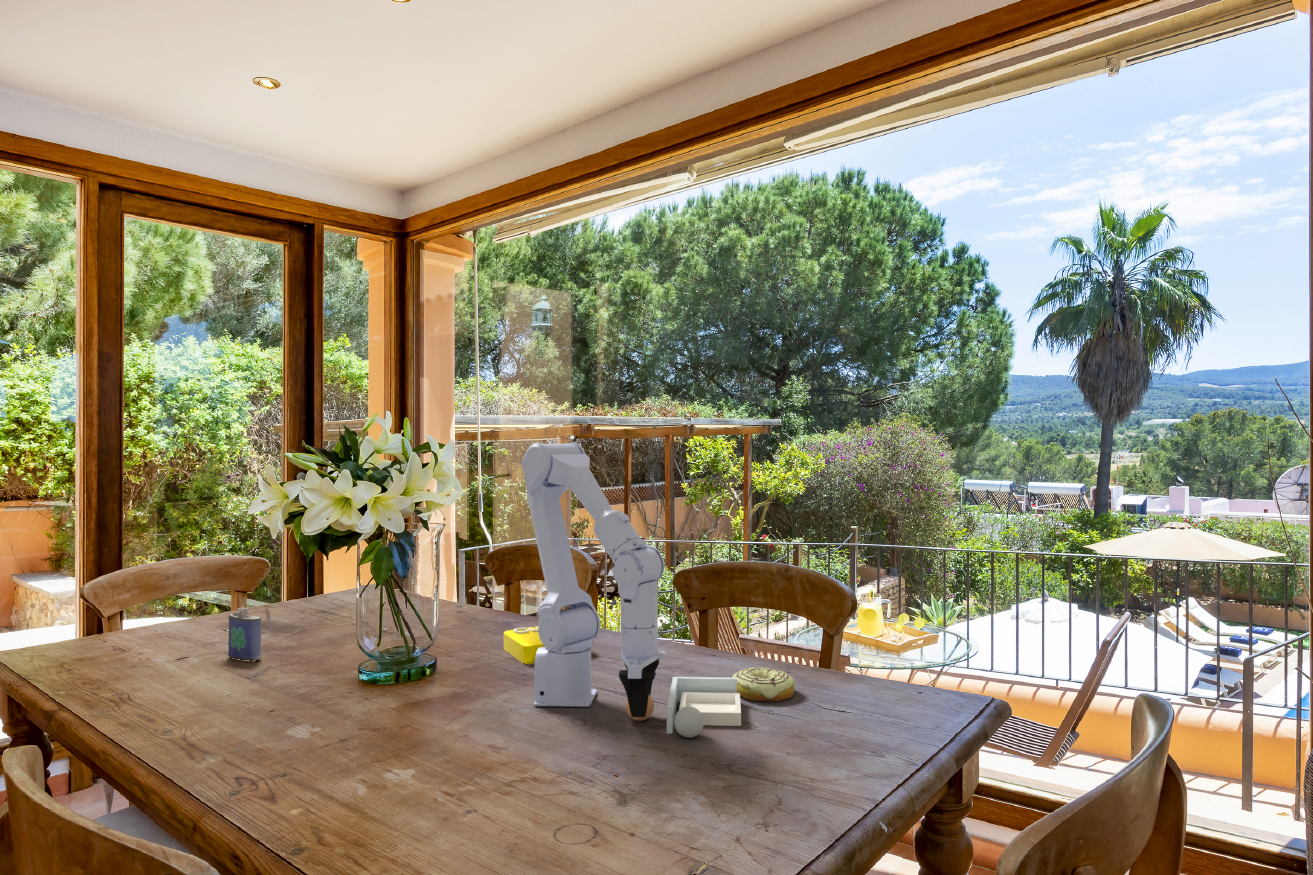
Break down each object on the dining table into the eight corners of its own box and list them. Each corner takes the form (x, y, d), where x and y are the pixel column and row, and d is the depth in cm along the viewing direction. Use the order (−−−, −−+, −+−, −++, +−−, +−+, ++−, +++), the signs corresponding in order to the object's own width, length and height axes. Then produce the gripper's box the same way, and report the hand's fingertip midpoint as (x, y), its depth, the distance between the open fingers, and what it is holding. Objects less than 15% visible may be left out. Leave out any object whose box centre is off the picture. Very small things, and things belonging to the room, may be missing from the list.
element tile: (525, 667, 154) (525, 643, 154) (500, 650, 167) (500, 628, 167) (594, 656, 161) (594, 633, 161) (565, 641, 174) (565, 619, 174)
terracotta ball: (624, 724, 121) (624, 696, 121) (628, 714, 125) (627, 687, 125) (653, 725, 121) (652, 696, 121) (655, 715, 125) (655, 687, 125)
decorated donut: (777, 709, 128) (777, 686, 128) (721, 697, 134) (721, 675, 134) (804, 691, 136) (804, 670, 136) (750, 681, 143) (750, 660, 143)
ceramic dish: (678, 724, 121) (678, 711, 121) (682, 703, 130) (682, 691, 130) (741, 725, 120) (740, 712, 120) (739, 704, 129) (739, 692, 129)
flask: (264, 660, 160) (263, 607, 160) (250, 663, 158) (250, 610, 158) (236, 654, 165) (236, 604, 165) (223, 658, 162) (222, 606, 162)
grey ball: (673, 741, 114) (673, 711, 114) (675, 730, 118) (674, 701, 118) (703, 742, 113) (703, 712, 114) (704, 731, 118) (703, 702, 118)
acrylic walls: (666, 733, 117) (666, 706, 117) (673, 700, 132) (673, 676, 132) (739, 734, 116) (738, 708, 116) (737, 701, 131) (736, 677, 131)
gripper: (660, 636, 116) (661, 728, 115) (667, 614, 130) (668, 696, 130) (613, 636, 116) (614, 727, 116) (625, 614, 131) (626, 695, 131)
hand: (640, 710), depth 123 cm, fingers closed on terracotta ball, 4 cm apart
